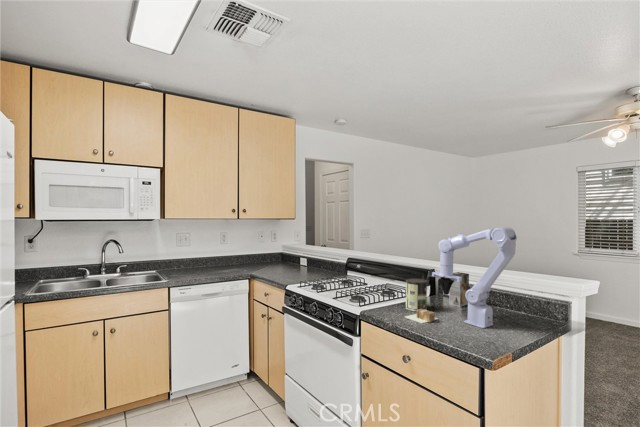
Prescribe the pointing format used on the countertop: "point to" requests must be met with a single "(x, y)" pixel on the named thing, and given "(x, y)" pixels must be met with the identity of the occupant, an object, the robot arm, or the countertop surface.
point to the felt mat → (414, 318)
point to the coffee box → (459, 290)
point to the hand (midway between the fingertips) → (446, 294)
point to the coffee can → (416, 294)
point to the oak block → (425, 315)
